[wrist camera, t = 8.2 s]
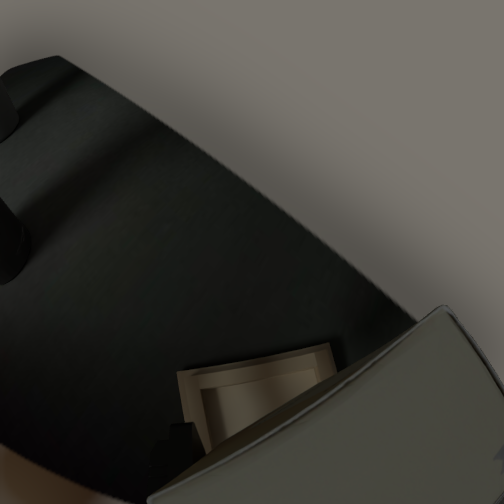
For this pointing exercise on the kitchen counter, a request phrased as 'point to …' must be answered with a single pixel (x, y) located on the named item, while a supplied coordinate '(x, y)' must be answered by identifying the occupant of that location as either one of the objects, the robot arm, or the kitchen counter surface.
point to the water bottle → (6, 114)
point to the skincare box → (371, 433)
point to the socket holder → (248, 390)
